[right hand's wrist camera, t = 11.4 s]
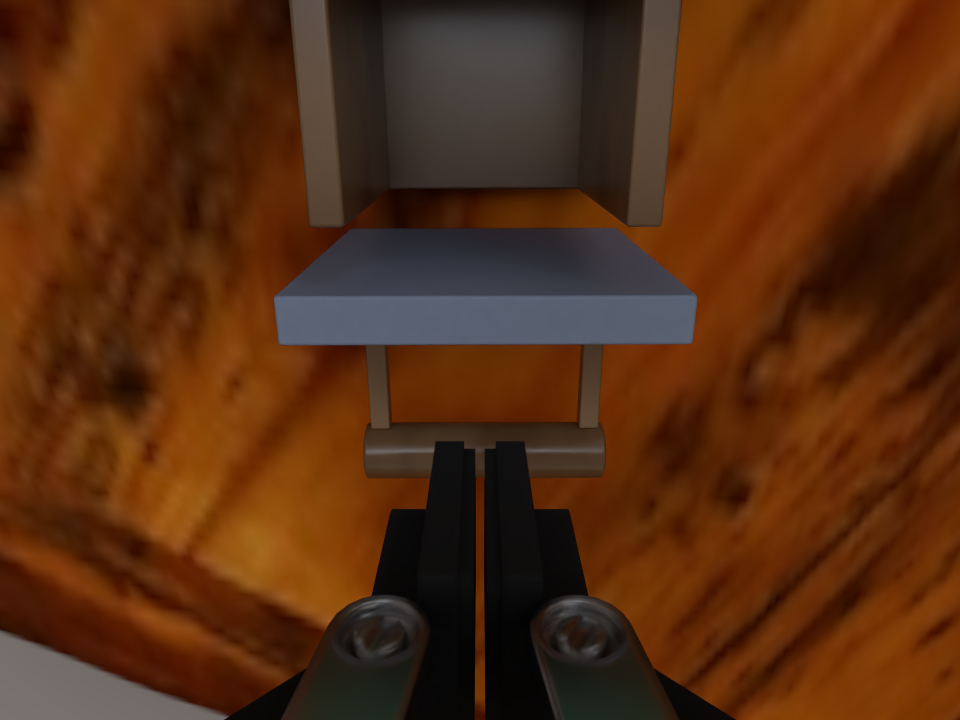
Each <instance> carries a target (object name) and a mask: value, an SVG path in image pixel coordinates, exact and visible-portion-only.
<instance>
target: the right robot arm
mask: <svg viewBox="0 0 960 720" xmlns="http://www.w3.org/2000/svg"><path fill="white" fill-rule="evenodd" d="M475 609H476V476H475V449H464V441H436V442H435V448H434V455H433V462H432V470H431V477H430V484H429V492H428V499H427V506H426V509H392V510H391V513H390V516H389V521H388V525H387V530H386V534H385V539H384V543H383V547H382V552H381V556H380V561H379V565H378V570H377V574H376V579H375V583H374V587H373V592H372V596H371V597H366V598H362V599H360V600H357V601H355V602H353V603H351V604H348V605H347V606H346V607H344V608H343V609H342V610H341V611H339V612H338V613H337V614H336V615H335V617H334V618H333V619H332V621H331V622H330V623H329V625H328V627H327V629H326V631H325V633H324V635H323V637H322V639H321V641H320V643H319V645H318V647H317V649H316V651H315V653H314V655H313V657H312V659H311V661H310V663H309V665H308V667H307V668H306V669H305V670H303V671H301V672H300V673H298V674H297V675H295V676H293V677H292V678H290V679H289V680H287V681H285V682H284V683H282V684H281V685H279V686H277V687H276V688H274V689H273V690H271V691H269V692H268V693H266V694H265V695H263V696H261V697H260V698H258V699H257V700H255V701H253V702H252V703H250V704H249V705H247V706H246V707H244V708H242V709H241V710H239V711H238V712H236V713H234V714H233V715H231V716H230V717H228V718H226V719H225V720H474V718H475ZM484 609H485V719H486V720H735V719H734V718H732V717H730V716H729V715H727V714H726V713H724V712H722V711H721V710H719V709H718V708H716V707H714V706H713V705H711V704H710V703H708V702H707V701H705V700H703V699H702V698H700V697H699V696H697V695H695V694H694V693H692V692H691V691H689V690H687V689H686V688H684V687H683V686H681V685H679V684H678V683H676V682H675V681H673V680H671V679H670V678H668V677H667V676H665V675H663V674H662V673H660V672H659V671H657V670H655V669H654V668H653V667H652V665H651V663H650V661H649V659H648V657H647V655H646V653H645V651H644V649H643V647H642V645H641V643H640V641H639V639H638V637H637V635H636V633H635V631H634V629H633V627H632V625H631V623H630V622H629V621H628V619H627V618H626V617H625V615H624V614H623V613H622V612H621V611H619V610H618V609H617V608H616V607H614V606H613V605H612V604H609V603H607V602H605V601H603V600H600V599H598V598H594V597H589V596H588V592H587V587H586V583H585V579H584V574H583V570H582V565H581V561H580V556H579V552H578V547H577V543H576V539H575V534H574V530H573V525H572V521H571V516H570V513H569V510H568V509H534V506H533V499H532V492H531V484H530V477H529V470H528V463H527V455H526V448H525V442H524V441H496V449H485V475H484Z"/></svg>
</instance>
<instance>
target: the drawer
mask: <svg viewBox="0 0 960 720" xmlns="http://www.w3.org/2000/svg"><path fill="white" fill-rule="evenodd" d="M681 6H682V0H289V7H290V18H291V29H292V40H293V51H294V62H295V73H296V84H297V95H298V106H299V117H300V128H301V139H302V150H303V161H304V172H305V183H306V194H307V205H308V216H309V224H310V226H311V227H314V228H324V227H343V226H345V225H346V224H347V223H348V222H350V221H351V220H352V219H353V218H354V217H356V216H357V215H358V214H359V213H360V212H362V211H363V210H364V209H365V208H366V207H368V206H369V205H370V204H371V203H373V202H374V201H375V200H376V199H377V198H379V197H380V196H381V195H382V194H383V193H385V192H386V191H387V190H388V189H579V190H581V191H582V192H583V193H585V194H586V195H587V196H589V197H590V198H591V199H593V200H594V201H595V202H597V203H598V204H599V205H600V206H602V207H603V208H604V209H606V210H607V211H608V212H610V213H611V214H612V215H614V216H615V217H616V218H618V219H619V220H620V221H621V222H623V223H624V224H625V225H627V226H629V227H658V226H661V224H662V216H663V205H664V194H665V183H666V172H667V161H668V150H669V139H670V128H671V117H672V106H673V95H674V84H675V72H676V61H677V50H678V39H679V28H680V17H681ZM274 305H275V314H276V323H277V332H278V341H279V344H280V345H366V356H367V372H368V387H369V402H370V417H371V423H369V424H368V425H367V427H366V431H365V437H364V468H365V473H366V476H367V477H368V478H430V477H431V470H432V462H433V455H434V448H435V442H436V441H464V449H475V476H476V478H484V475H485V449H496V441H524V442H525V448H526V455H527V463H528V470H529V477H530V478H600V477H602V476H603V473H604V470H605V461H606V445H605V435H604V430H603V427H602V424H601V423H600V422H598V417H599V401H600V385H601V370H602V354H603V344H691V343H692V341H693V332H694V323H695V315H696V306H697V295H695V294H694V293H693V292H692V291H691V290H690V289H688V288H687V287H686V286H685V285H684V284H682V283H681V282H680V281H679V280H678V279H676V278H675V277H674V276H673V275H672V274H670V273H669V272H668V271H667V270H666V269H664V268H663V267H662V266H661V265H660V264H659V263H657V262H656V261H655V260H654V259H653V258H651V257H650V256H649V255H648V254H647V253H645V252H644V251H643V250H642V249H641V248H639V247H638V246H637V245H636V244H635V243H633V242H632V241H631V240H630V239H629V238H628V237H626V236H625V235H624V234H623V233H622V232H620V231H619V230H618V229H617V228H447V229H350V230H349V231H348V232H347V233H346V234H344V235H343V236H342V237H341V238H340V239H339V240H338V241H337V242H335V243H334V244H333V245H332V246H331V247H330V248H329V249H328V250H326V251H325V252H324V253H323V254H322V255H321V256H320V257H319V258H318V259H316V260H315V261H314V262H313V263H312V264H311V265H310V266H309V267H307V268H306V269H305V270H304V271H303V272H302V273H301V274H300V275H298V276H297V277H296V278H295V279H294V280H293V281H292V282H291V283H289V284H288V285H287V286H286V287H285V288H284V289H283V290H282V291H280V292H279V293H278V294H277V295H276V296H275V297H274ZM551 344H581V351H580V370H579V389H578V409H577V422H392V412H391V394H390V375H389V357H388V345H551Z"/></svg>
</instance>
